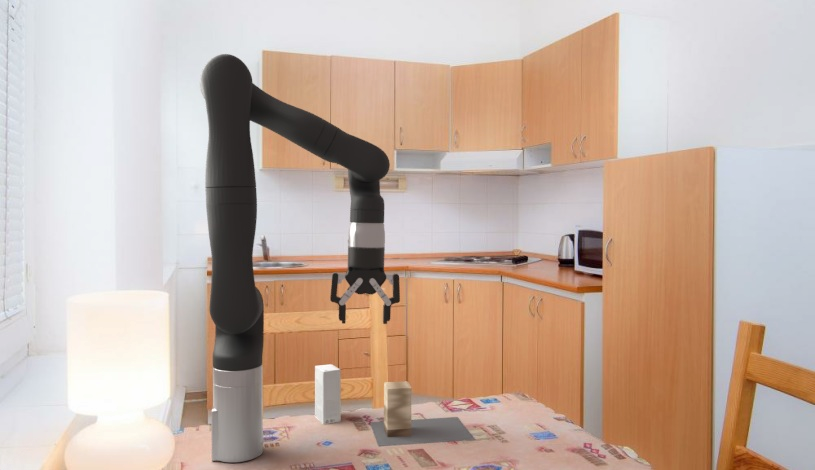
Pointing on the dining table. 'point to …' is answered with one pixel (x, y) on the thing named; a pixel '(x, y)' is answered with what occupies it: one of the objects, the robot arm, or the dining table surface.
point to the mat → (425, 432)
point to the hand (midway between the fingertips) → (364, 323)
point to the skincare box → (327, 394)
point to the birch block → (397, 409)
